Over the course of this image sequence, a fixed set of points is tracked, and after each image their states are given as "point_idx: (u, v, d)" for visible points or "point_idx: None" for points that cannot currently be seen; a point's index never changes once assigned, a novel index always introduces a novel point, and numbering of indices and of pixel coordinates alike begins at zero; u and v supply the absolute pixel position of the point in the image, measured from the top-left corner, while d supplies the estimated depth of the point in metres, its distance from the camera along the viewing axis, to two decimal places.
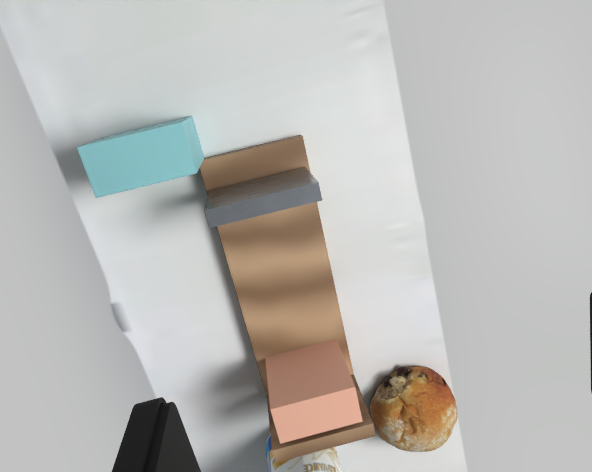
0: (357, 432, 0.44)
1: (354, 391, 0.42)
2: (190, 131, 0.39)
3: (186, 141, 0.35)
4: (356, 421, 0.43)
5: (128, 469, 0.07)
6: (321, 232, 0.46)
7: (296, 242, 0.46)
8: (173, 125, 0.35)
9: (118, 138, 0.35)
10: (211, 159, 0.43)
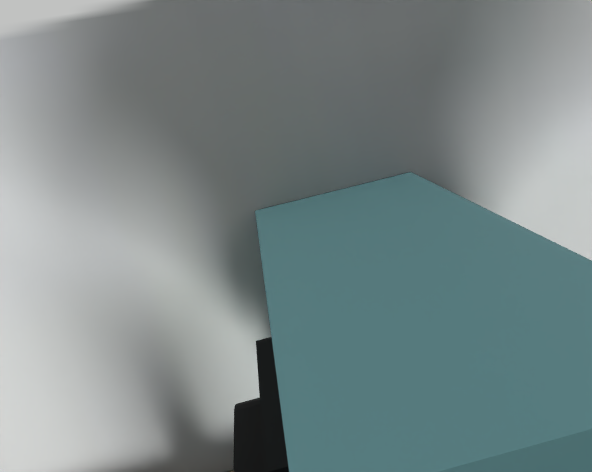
0: None
1: None
2: None
3: None
4: None
5: (273, 384, 0.09)
6: None
7: None
8: None
9: None
10: None
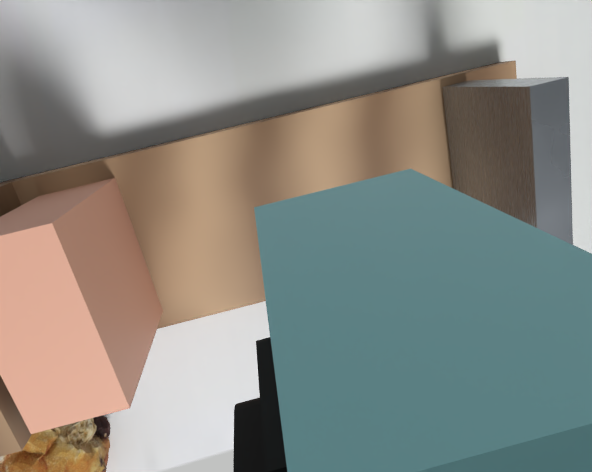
0: None
1: (117, 407, 0.18)
2: None
3: None
4: (29, 421, 0.18)
5: (273, 383, 0.09)
6: None
7: None
8: None
9: None
10: None
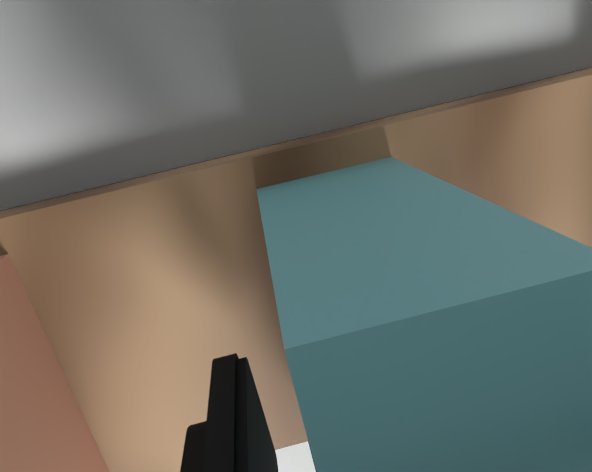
0: None
1: None
2: None
3: None
4: None
5: (222, 407, 0.08)
6: None
7: None
8: None
9: None
10: None
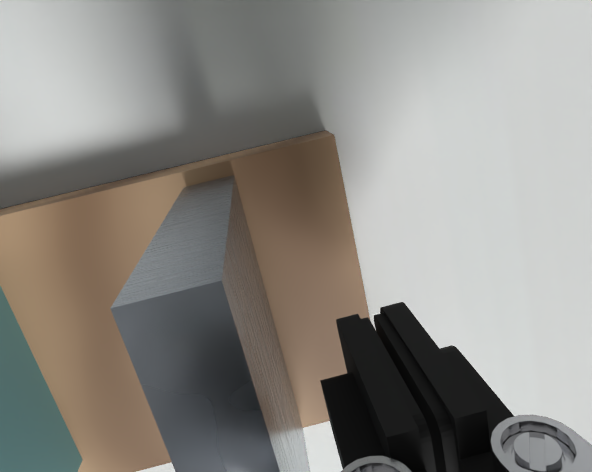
0: None
1: None
2: None
3: None
4: None
5: (368, 357, 0.09)
6: (125, 470, 0.17)
7: (88, 413, 0.16)
8: None
9: None
10: (339, 176, 0.14)
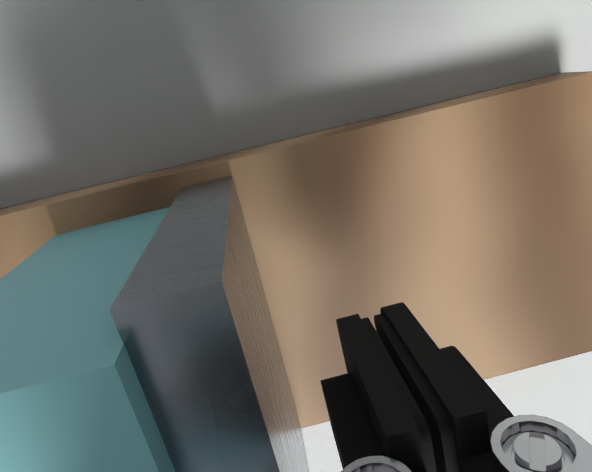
0: None
1: None
2: None
3: None
4: None
5: (369, 357, 0.09)
6: None
7: (320, 354, 0.16)
8: None
9: None
10: (591, 113, 0.14)
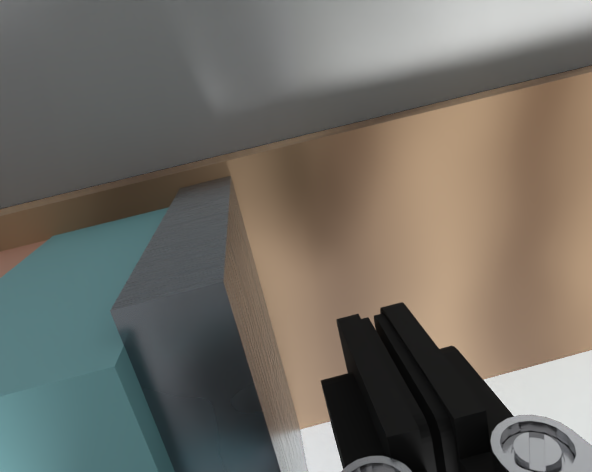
0: None
1: None
2: None
3: None
4: None
5: (369, 357, 0.09)
6: (505, 369, 0.17)
7: (489, 309, 0.16)
8: None
9: None
10: None
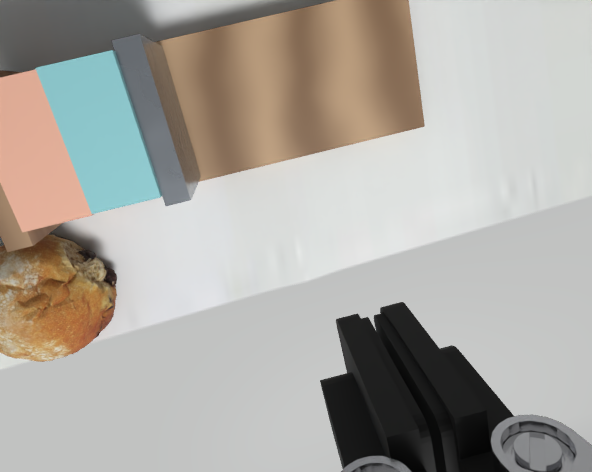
0: (12, 220, 0.26)
1: (83, 214, 0.26)
2: None
3: (135, 202, 0.26)
4: (21, 222, 0.26)
5: (369, 357, 0.09)
6: (302, 153, 0.35)
7: (289, 119, 0.34)
8: (155, 186, 0.26)
9: (131, 111, 0.25)
10: (407, 3, 0.33)
